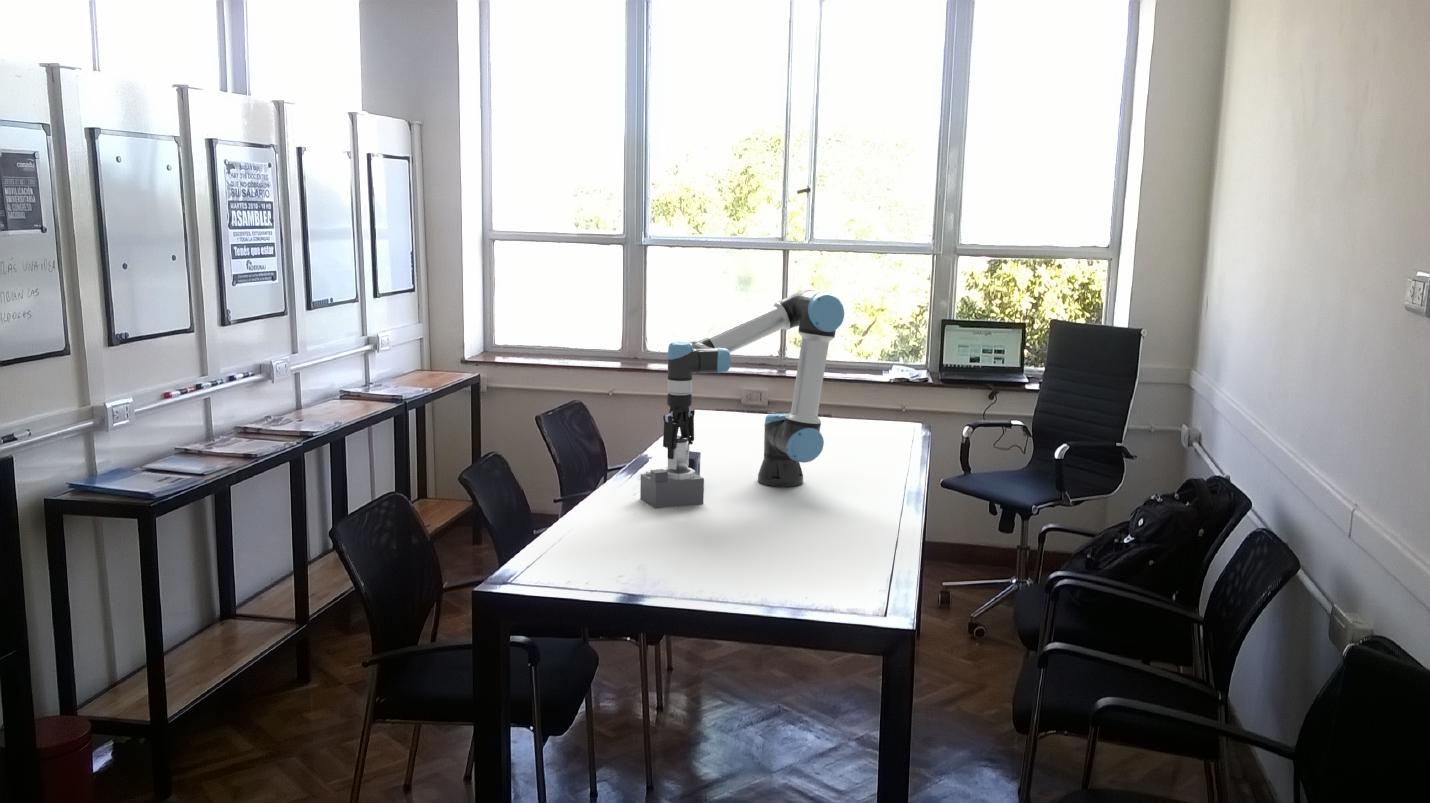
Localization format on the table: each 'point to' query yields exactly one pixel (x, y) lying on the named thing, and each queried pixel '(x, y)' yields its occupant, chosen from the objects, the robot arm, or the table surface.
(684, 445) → the lens
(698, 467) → the small box
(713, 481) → the table surface
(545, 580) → the table surface
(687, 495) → the camera body
